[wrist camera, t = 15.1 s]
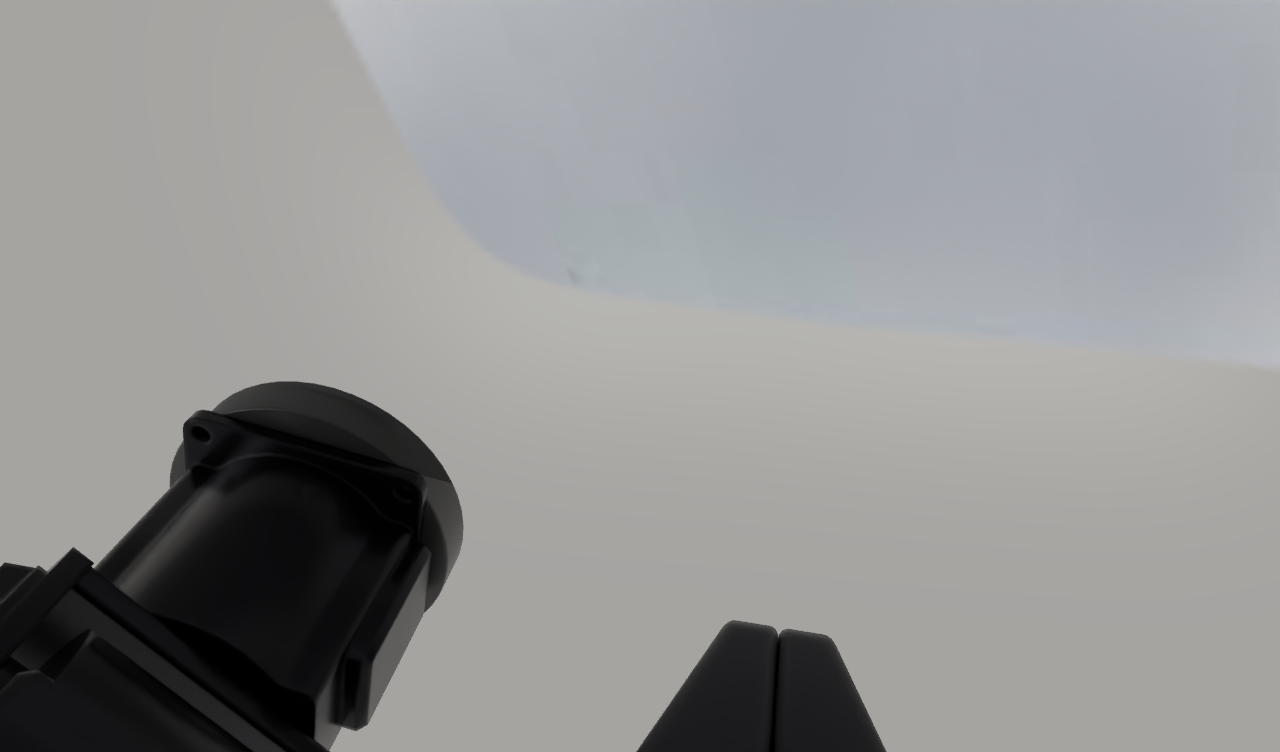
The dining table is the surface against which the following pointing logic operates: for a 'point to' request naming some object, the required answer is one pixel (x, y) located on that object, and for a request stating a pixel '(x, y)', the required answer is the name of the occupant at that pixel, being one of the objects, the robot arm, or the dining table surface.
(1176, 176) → the dining table surface
